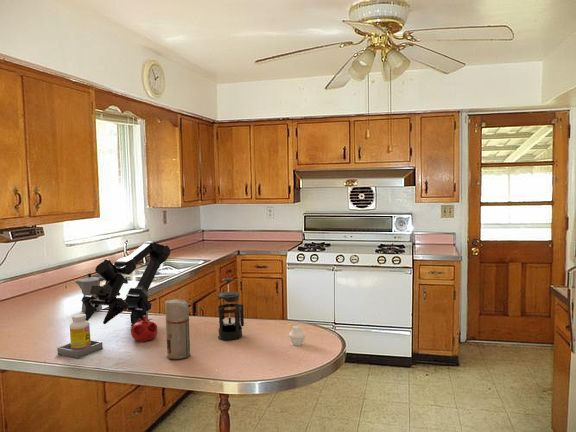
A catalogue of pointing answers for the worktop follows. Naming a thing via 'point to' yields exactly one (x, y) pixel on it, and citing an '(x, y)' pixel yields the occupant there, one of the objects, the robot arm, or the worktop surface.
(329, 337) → the worktop surface
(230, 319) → the french press
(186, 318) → the spray can
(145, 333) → the red ball with holes
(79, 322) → the supplement bottle
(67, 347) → the tray
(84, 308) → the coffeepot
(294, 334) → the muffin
